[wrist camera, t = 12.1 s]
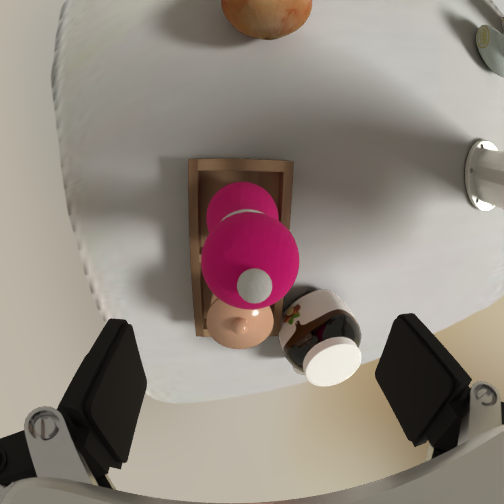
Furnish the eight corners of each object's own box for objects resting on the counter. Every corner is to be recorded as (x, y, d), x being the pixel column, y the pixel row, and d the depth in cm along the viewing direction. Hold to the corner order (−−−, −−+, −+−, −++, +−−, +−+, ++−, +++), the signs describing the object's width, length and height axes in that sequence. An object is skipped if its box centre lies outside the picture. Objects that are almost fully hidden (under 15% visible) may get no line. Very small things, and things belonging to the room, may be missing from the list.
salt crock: (266, 263, 34) (278, 301, 26) (263, 311, 37) (272, 356, 28) (209, 263, 34) (203, 301, 25) (211, 311, 36) (207, 357, 28)
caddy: (286, 160, 31) (293, 161, 28) (275, 320, 39) (279, 335, 35) (193, 158, 30) (188, 159, 27) (198, 320, 38) (196, 336, 35)
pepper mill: (202, 229, 32) (169, 335, 14) (219, 170, 30) (200, 200, 11) (260, 245, 34) (296, 360, 15) (279, 188, 31) (351, 245, 13)
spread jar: (322, 274, 37) (355, 321, 26) (359, 320, 40) (391, 368, 30) (256, 325, 39) (265, 383, 28) (300, 363, 43) (317, 417, 32)
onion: (285, -12, 23) (302, -52, 13) (310, 44, 26) (339, 12, 17) (213, 0, 23) (209, -42, 14) (235, 58, 26) (237, 23, 17)
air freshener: (473, 22, 22) (506, 13, 13) (497, 48, 24) (529, 43, 14) (472, 58, 25) (510, 51, 16) (496, 84, 27) (533, 83, 18)
